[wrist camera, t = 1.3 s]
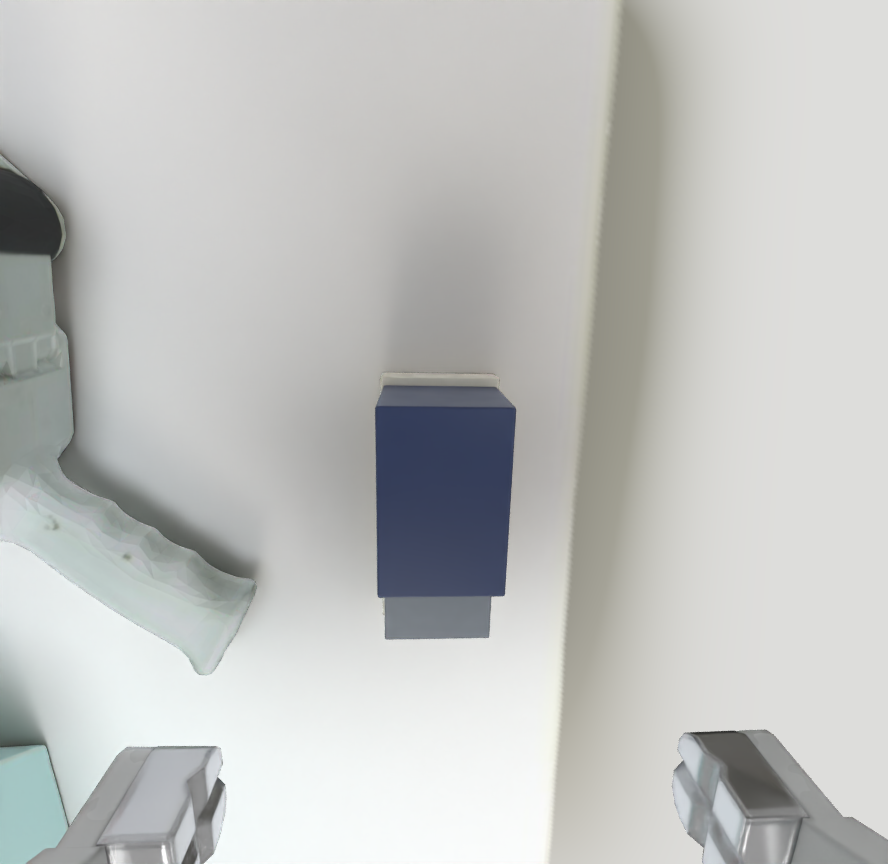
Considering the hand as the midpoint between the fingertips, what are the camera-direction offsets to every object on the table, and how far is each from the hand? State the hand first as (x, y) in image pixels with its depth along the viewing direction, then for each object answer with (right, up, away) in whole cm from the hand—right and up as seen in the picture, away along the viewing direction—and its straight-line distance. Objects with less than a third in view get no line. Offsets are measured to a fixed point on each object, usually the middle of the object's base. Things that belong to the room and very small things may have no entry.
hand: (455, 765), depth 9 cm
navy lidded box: (-1, +3, +12) cm, 12 cm away
